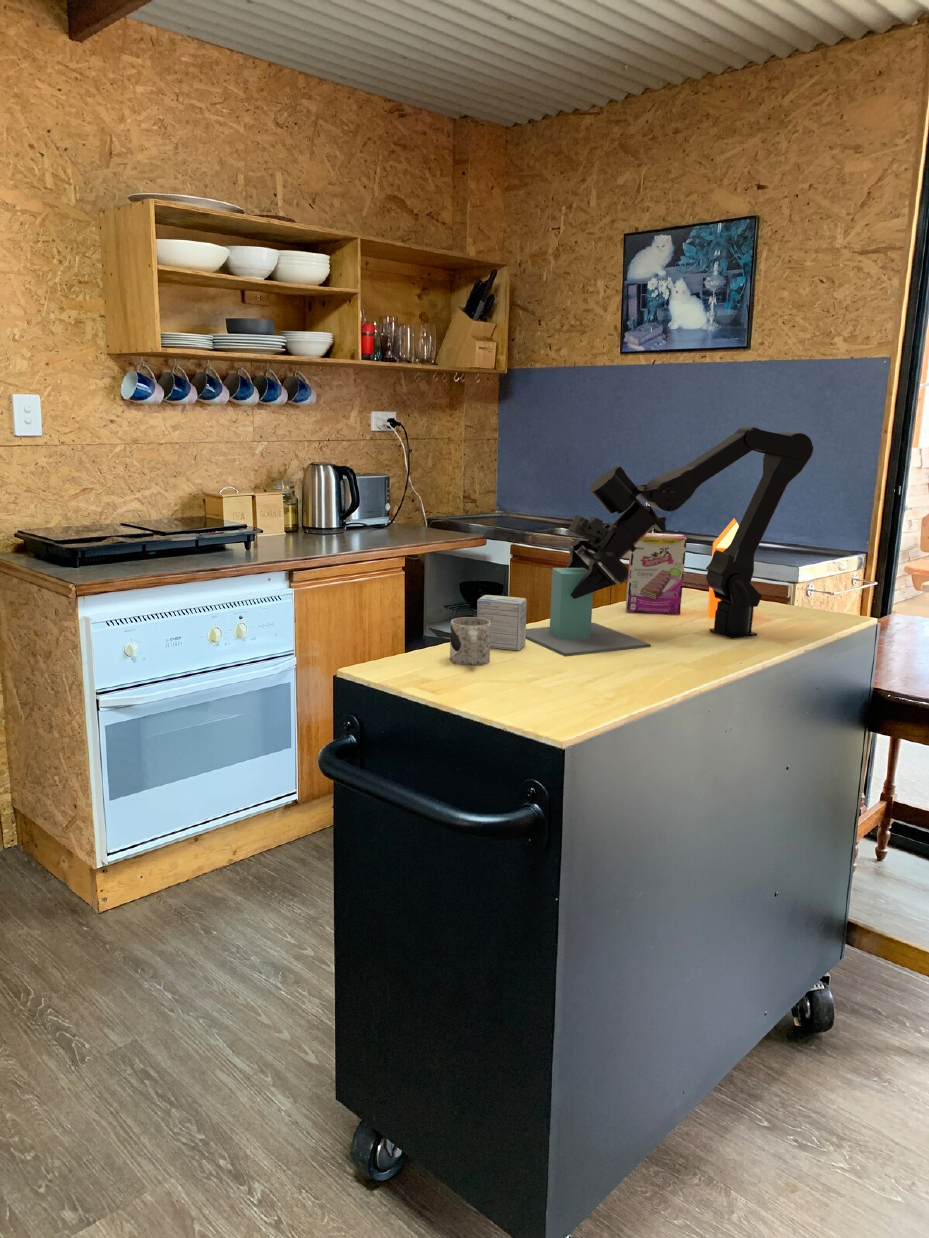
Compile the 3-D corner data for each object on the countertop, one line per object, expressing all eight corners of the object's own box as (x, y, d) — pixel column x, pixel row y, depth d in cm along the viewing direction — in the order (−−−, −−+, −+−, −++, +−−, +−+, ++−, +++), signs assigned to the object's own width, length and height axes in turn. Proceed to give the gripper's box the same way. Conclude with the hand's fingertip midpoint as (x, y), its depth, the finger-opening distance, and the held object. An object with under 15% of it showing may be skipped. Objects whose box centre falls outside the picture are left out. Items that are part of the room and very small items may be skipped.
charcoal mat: (593, 625, 182) (593, 622, 182) (650, 646, 166) (650, 643, 166) (513, 632, 174) (513, 630, 174) (565, 656, 158) (565, 653, 158)
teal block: (580, 630, 175) (583, 567, 172) (590, 638, 169) (594, 573, 166) (549, 631, 173) (552, 568, 171) (558, 639, 168) (561, 573, 165)
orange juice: (708, 618, 191) (716, 520, 186) (706, 609, 199) (714, 516, 195) (747, 620, 189) (757, 522, 185) (744, 612, 197) (753, 518, 193)
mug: (448, 655, 157) (449, 617, 156) (487, 655, 158) (489, 617, 156) (452, 671, 147) (453, 631, 146) (493, 671, 148) (495, 631, 146)
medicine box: (525, 645, 165) (527, 598, 163) (519, 651, 161) (520, 602, 159) (483, 641, 167) (484, 594, 165) (475, 646, 163) (477, 598, 161)
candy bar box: (626, 613, 193) (631, 534, 190) (625, 608, 198) (630, 531, 195) (681, 615, 192) (687, 536, 189) (678, 610, 197) (684, 533, 194)
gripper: (582, 495, 175) (523, 553, 176) (615, 505, 157) (549, 570, 158) (619, 536, 179) (561, 593, 179) (656, 551, 161) (591, 614, 161)
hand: (564, 592), depth 169 cm, fingers open, 9 cm apart
